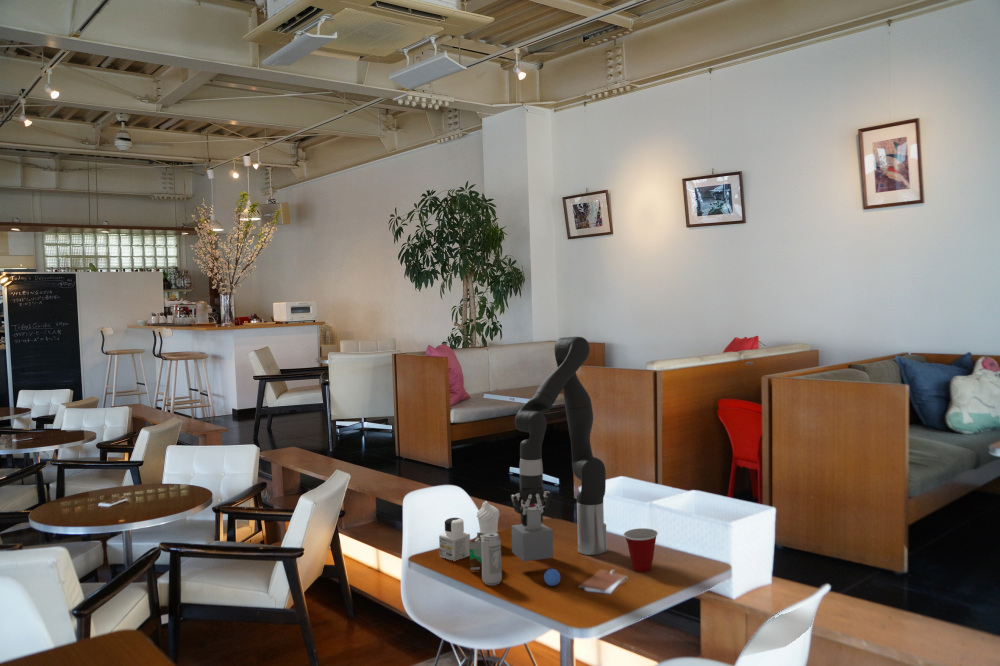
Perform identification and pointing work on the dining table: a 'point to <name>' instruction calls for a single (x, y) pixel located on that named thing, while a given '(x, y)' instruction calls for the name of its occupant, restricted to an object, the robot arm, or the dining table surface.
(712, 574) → the dining table surface
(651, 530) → the plastic cup
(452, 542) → the container
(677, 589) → the dining table surface
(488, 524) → the soft serve ice cream cone
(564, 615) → the dining table surface
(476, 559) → the food container
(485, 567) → the energy drink can
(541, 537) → the grey stepped block
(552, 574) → the ball
